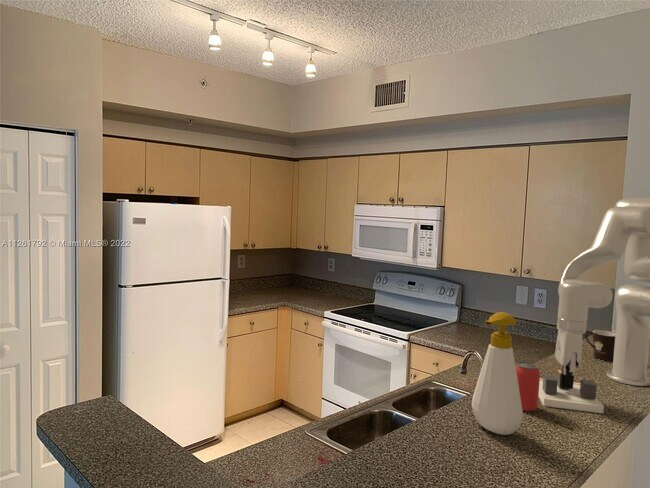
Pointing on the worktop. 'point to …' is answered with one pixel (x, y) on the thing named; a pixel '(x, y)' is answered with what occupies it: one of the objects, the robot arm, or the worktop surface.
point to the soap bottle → (498, 383)
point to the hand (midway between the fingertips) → (566, 387)
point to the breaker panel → (569, 395)
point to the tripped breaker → (559, 378)
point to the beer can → (528, 385)
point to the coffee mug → (603, 344)
